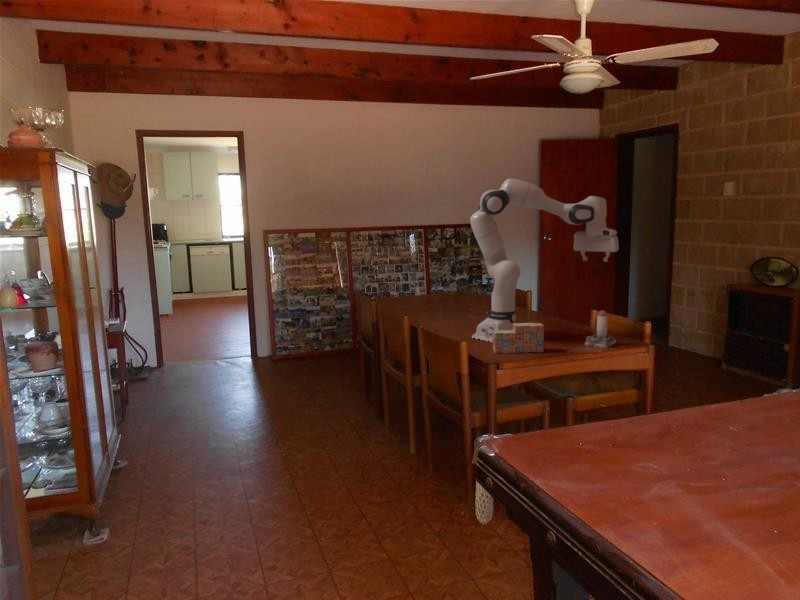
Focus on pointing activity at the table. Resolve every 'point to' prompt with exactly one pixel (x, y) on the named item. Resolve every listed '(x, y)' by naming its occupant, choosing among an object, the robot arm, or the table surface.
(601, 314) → the fuselage
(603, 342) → the jig
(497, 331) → the stack of blocks
